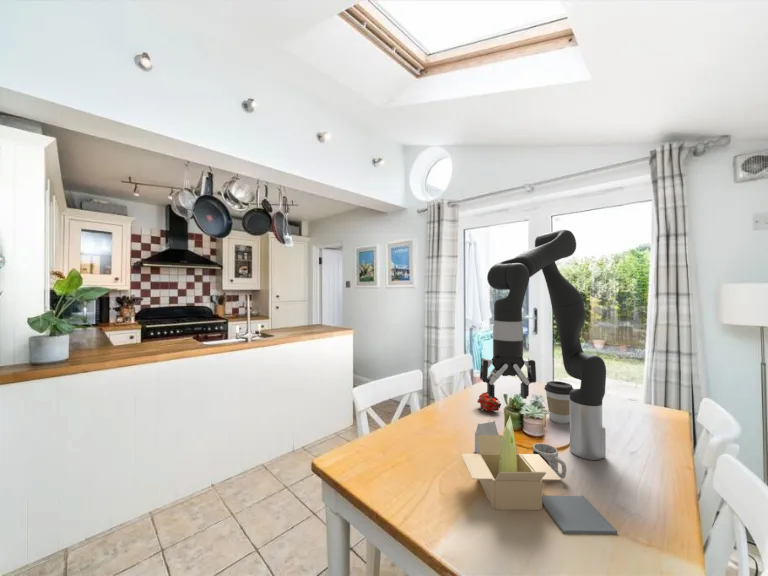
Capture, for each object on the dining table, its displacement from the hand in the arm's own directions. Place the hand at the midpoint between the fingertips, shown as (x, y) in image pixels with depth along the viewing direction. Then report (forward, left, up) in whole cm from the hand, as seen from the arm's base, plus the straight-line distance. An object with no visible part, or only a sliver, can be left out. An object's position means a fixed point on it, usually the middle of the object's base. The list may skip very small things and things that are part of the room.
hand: (507, 397), depth 84 cm
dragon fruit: (-14, -58, -26) cm, 65 cm away
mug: (-16, -9, -26) cm, 32 cm away
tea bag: (-1, -21, -26) cm, 33 cm away
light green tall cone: (0, 0, -26) cm, 26 cm away
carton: (0, 0, -25) cm, 25 cm away
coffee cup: (-40, -48, -26) cm, 67 cm away
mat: (-13, +8, -25) cm, 30 cm away
